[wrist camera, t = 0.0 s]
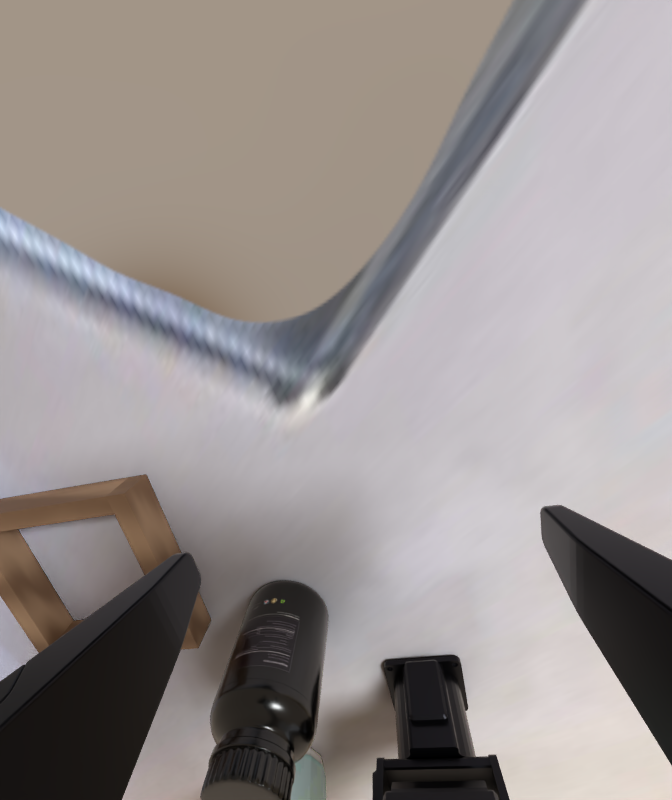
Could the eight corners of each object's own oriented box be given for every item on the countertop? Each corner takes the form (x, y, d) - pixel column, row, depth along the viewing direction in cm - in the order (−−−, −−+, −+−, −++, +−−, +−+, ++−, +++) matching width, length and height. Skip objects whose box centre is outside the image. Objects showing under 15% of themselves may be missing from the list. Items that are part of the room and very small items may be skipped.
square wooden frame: (211, 619, 31) (198, 648, 29) (67, 633, 33) (44, 660, 31) (146, 474, 26) (124, 493, 24) (-16, 501, 29) (-50, 521, 26)
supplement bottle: (337, 634, 30) (318, 846, 19) (262, 639, 31) (203, 843, 20) (320, 572, 28) (289, 769, 17) (241, 579, 29) (161, 770, 18)
